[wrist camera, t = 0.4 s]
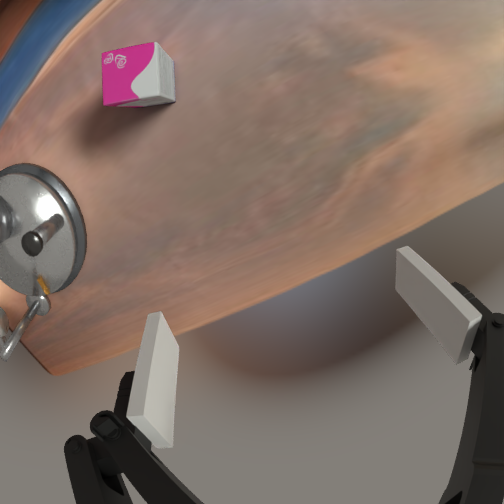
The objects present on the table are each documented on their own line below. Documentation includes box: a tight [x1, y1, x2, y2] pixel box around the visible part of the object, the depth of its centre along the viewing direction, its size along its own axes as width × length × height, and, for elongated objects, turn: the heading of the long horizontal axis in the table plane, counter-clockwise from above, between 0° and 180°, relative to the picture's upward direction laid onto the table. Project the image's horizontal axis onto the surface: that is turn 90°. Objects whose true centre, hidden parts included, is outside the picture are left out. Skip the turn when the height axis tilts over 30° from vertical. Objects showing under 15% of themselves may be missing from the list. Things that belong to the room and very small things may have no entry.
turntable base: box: [0, 163, 87, 293], centre depth 39 cm, size 22×22×1 cm
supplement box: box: [102, 42, 176, 108], centre depth 28 cm, size 6×6×12 cm
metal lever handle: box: [0, 295, 51, 361], centre depth 37 cm, size 10×5×15 cm, turn 15°
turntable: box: [0, 172, 78, 296], centre depth 33 cm, size 20×20×10 cm
